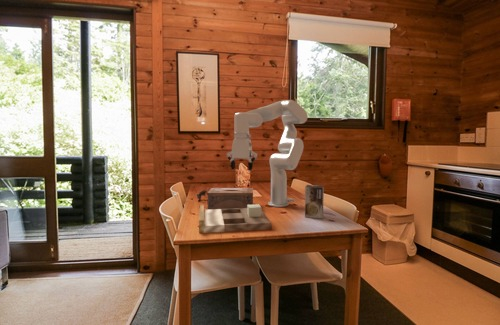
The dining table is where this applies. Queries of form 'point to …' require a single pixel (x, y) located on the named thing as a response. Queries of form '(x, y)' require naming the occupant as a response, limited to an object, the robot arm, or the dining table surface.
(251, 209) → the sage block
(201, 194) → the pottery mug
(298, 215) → the dining table surface
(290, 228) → the dining table surface
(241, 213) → the box
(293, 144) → the robot arm
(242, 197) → the tissue box cover
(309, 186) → the coffee box
